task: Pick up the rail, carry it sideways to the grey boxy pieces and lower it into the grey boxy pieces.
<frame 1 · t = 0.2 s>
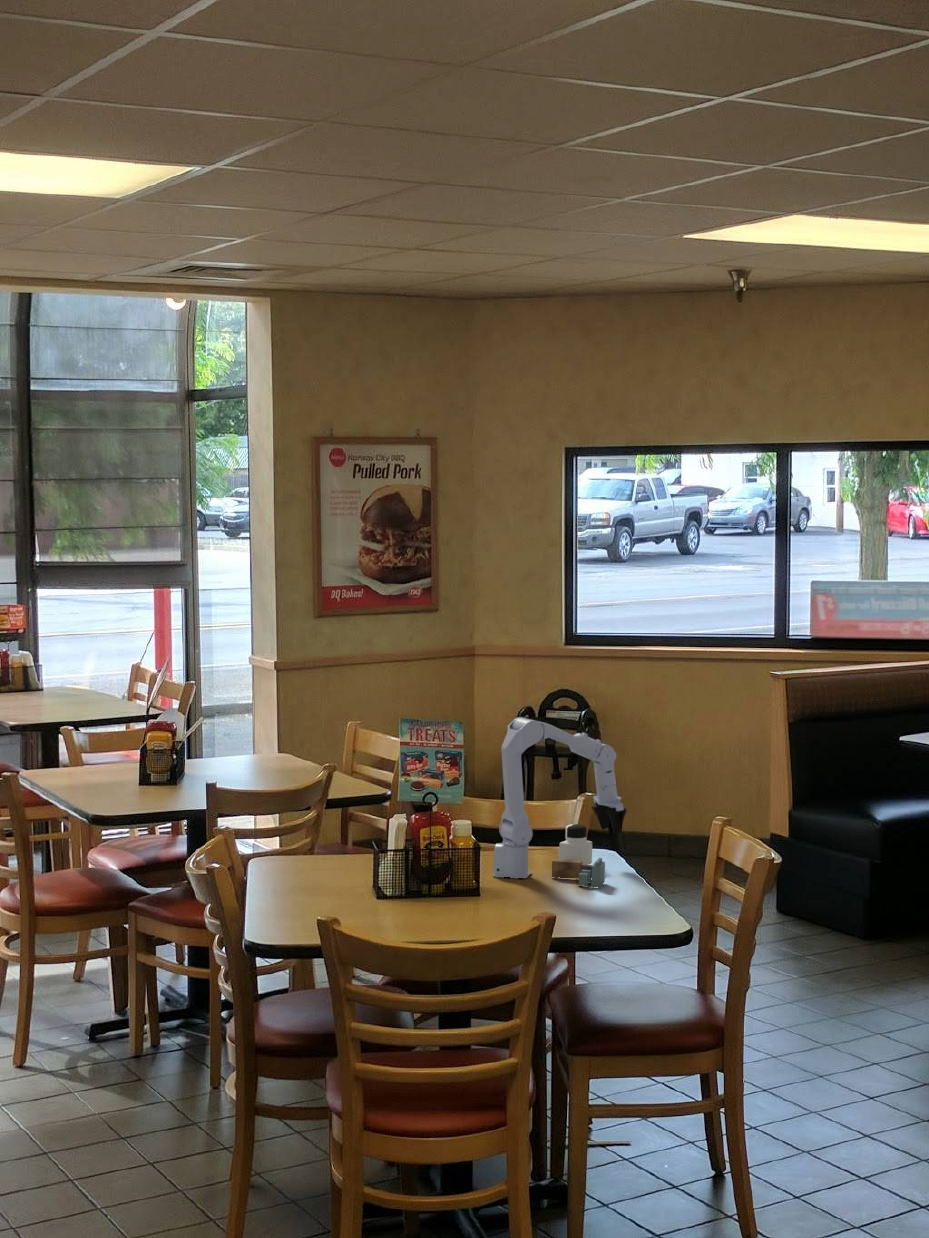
hand: (611, 830, 418), 11 cm above the table, tool pointing down, fingers open, 7 cm apart
medicine bottle: (575, 866, 420), on the table
rail: (566, 878, 404), on the table
grey boxy pieces: (584, 884, 397), on the table
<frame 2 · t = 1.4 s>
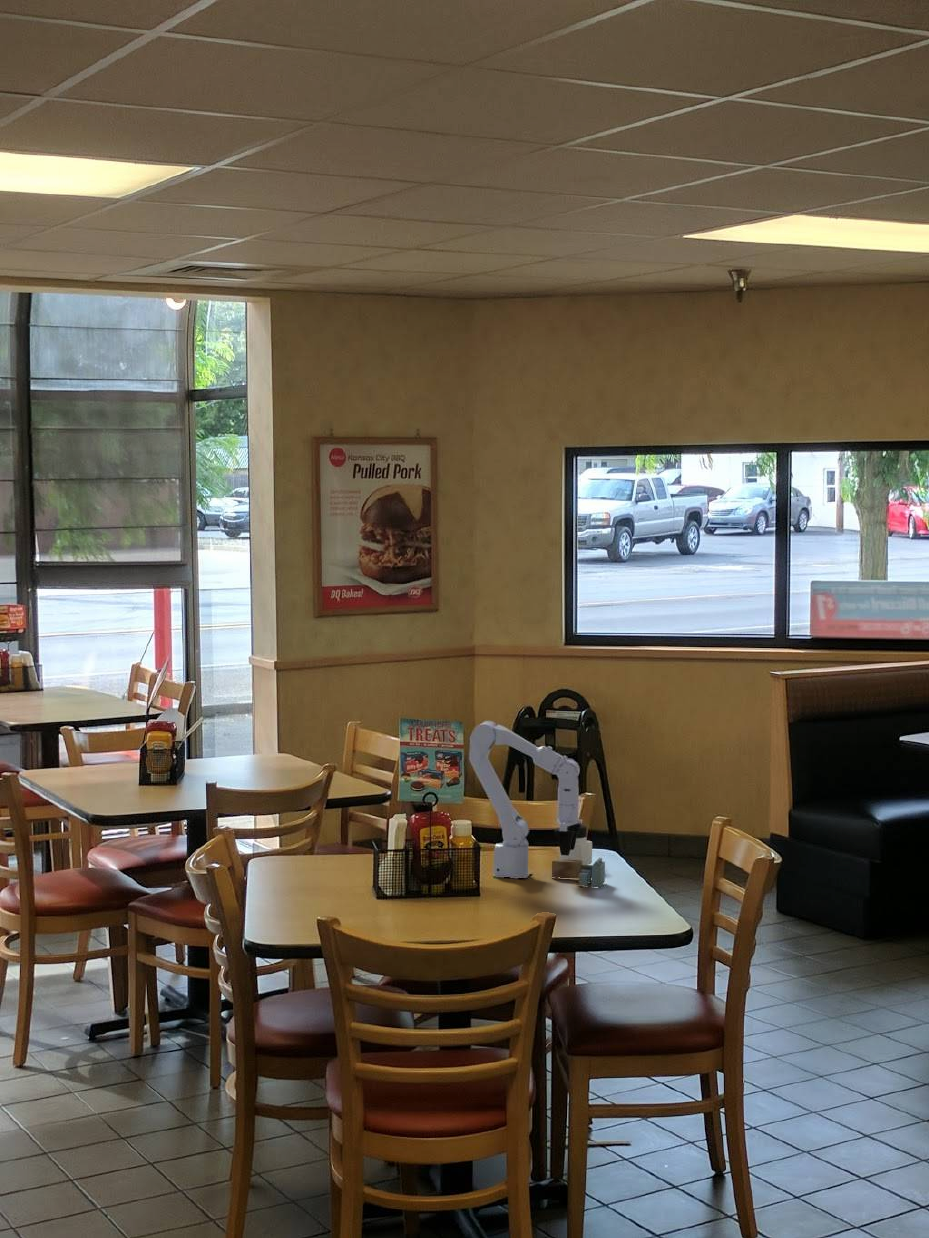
hand: (567, 852, 404), 7 cm above the table, tool pointing down, fingers open, 7 cm apart
nothing on the table moved.
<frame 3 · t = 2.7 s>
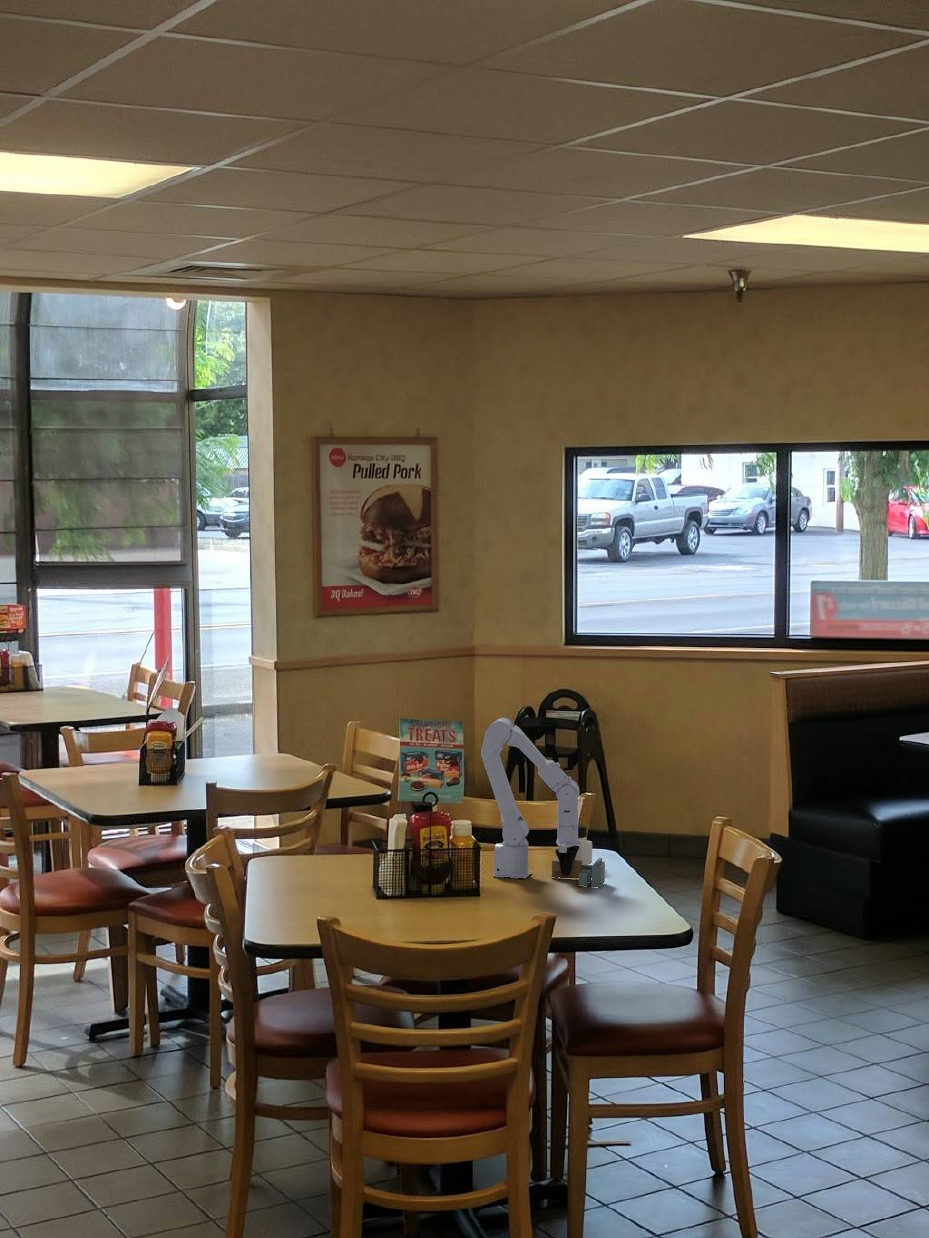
hand: (567, 873, 404), 1 cm above the table, tool pointing down, fingers closed on rail, 3 cm apart
rail: (566, 878, 404), on the table, touching gripper
everything else where it was.
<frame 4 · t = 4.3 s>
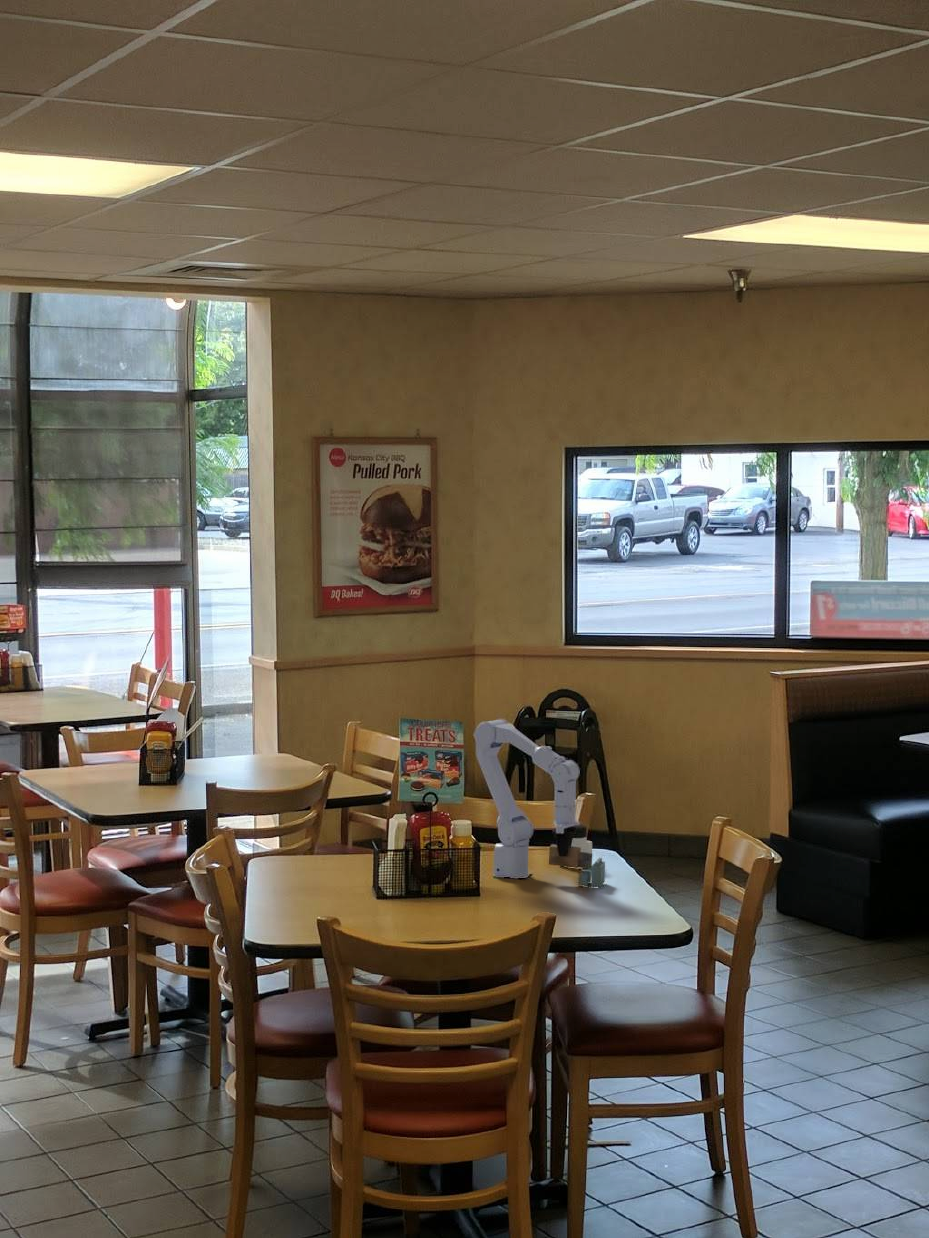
hand: (564, 854, 398), 8 cm above the table, tool pointing down, fingers closed on rail, 3 cm apart
rail: (564, 864, 398), point 5 cm above the table, touching gripper
everything else where it was.
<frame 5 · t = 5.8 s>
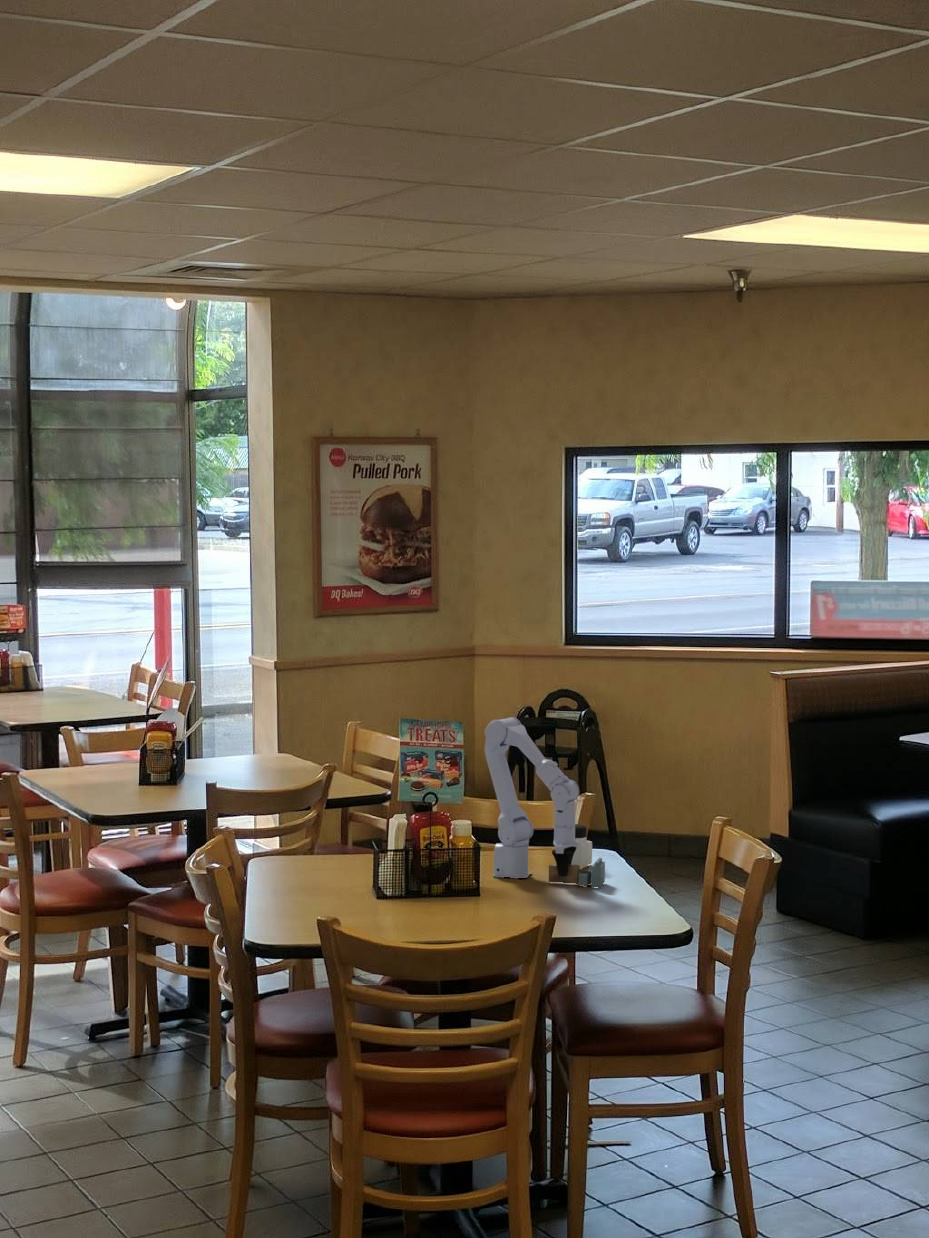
hand: (564, 874, 398), 2 cm above the table, tool pointing down, fingers closed on rail, 3 cm apart
rail: (564, 883, 398), on the table, touching gripper
everything else where it was.
when the fingers open (2 cm above the table, at t = 6.2 s): rail stays where it is, on the table.
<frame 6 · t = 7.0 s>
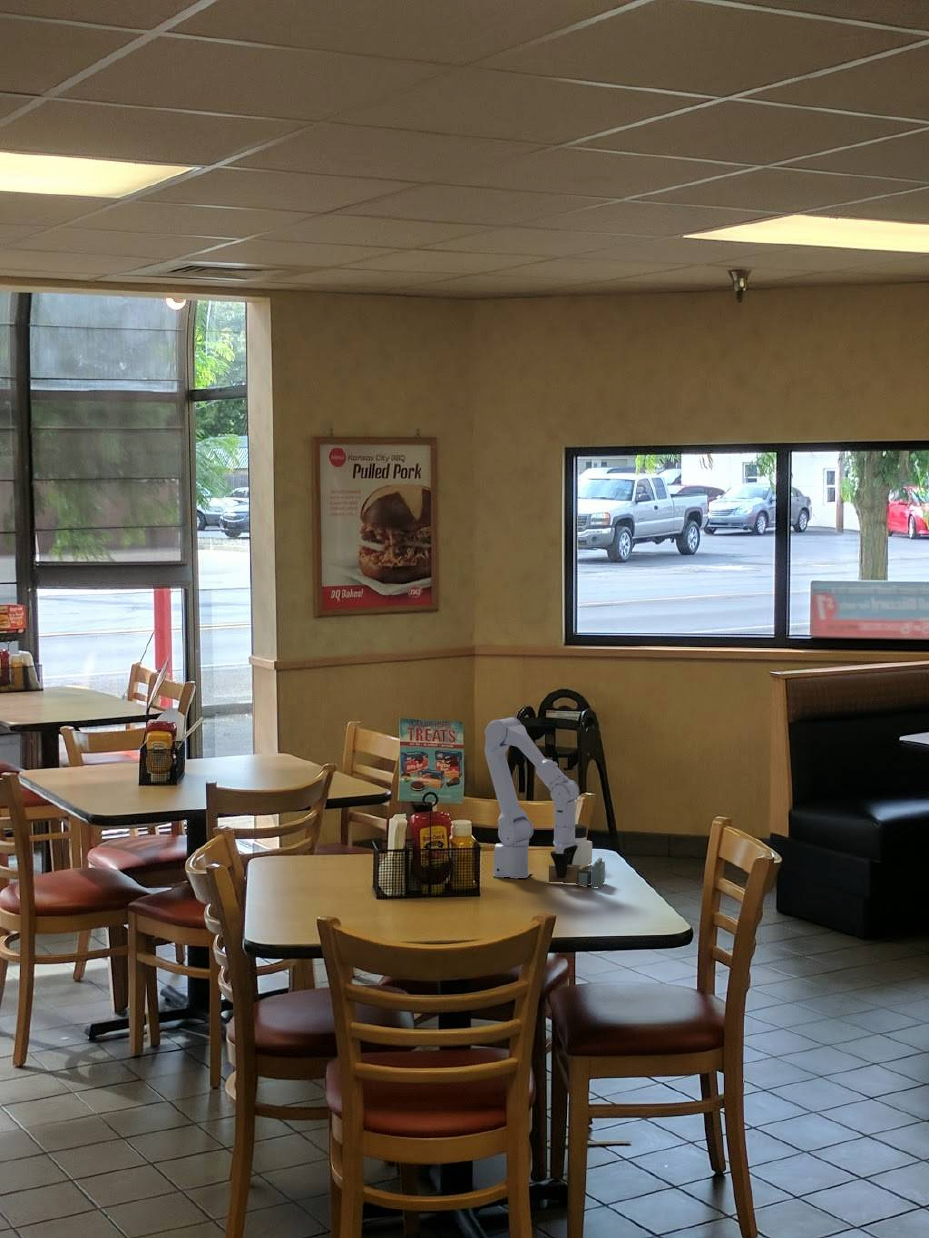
hand: (563, 874, 398), 2 cm above the table, tool pointing down, fingers open, 7 cm apart
rail: (564, 883, 398), on the table
everything else where it was.
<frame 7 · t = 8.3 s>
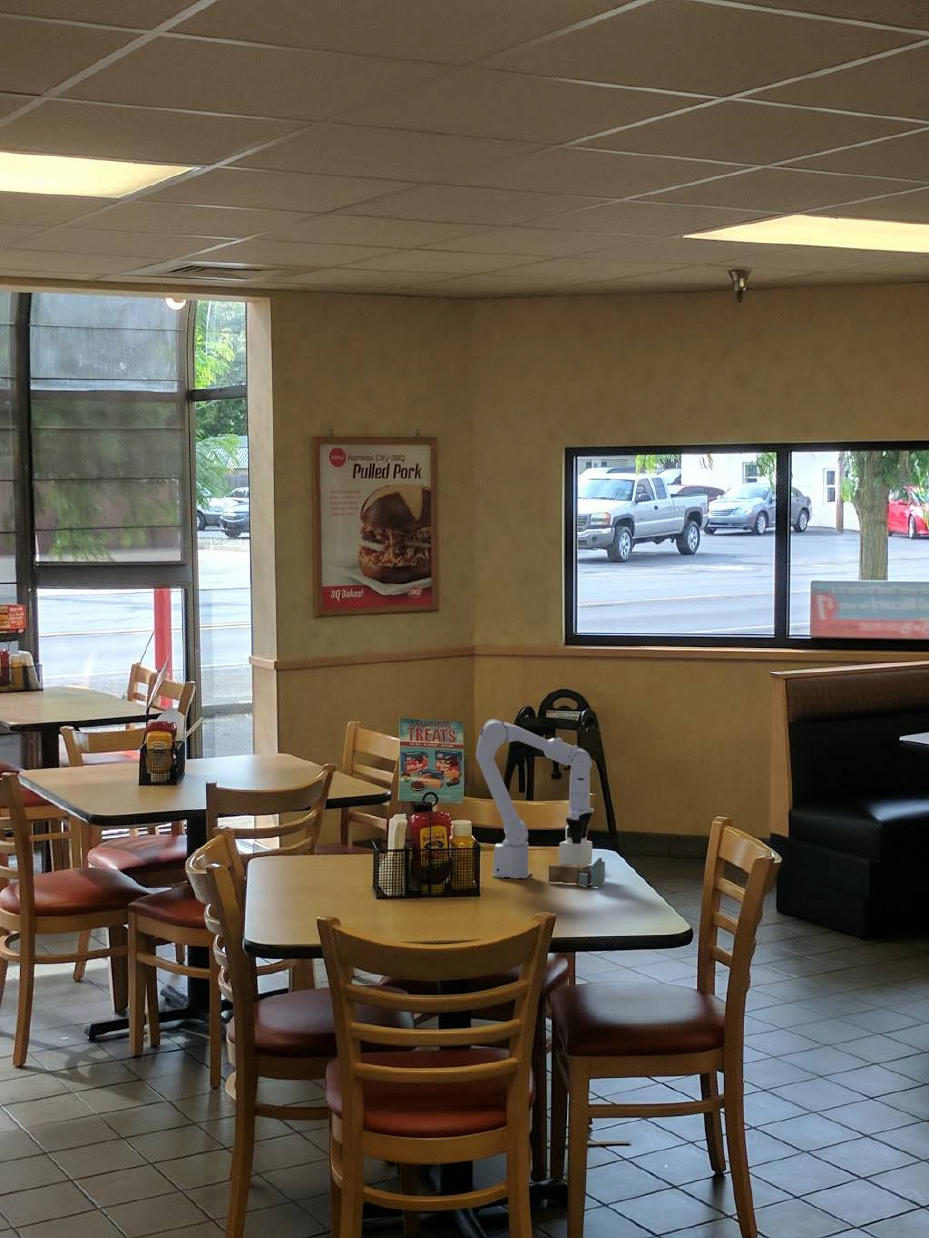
hand: (578, 840, 407), 10 cm above the table, tool pointing down, fingers open, 7 cm apart
nothing on the table moved.
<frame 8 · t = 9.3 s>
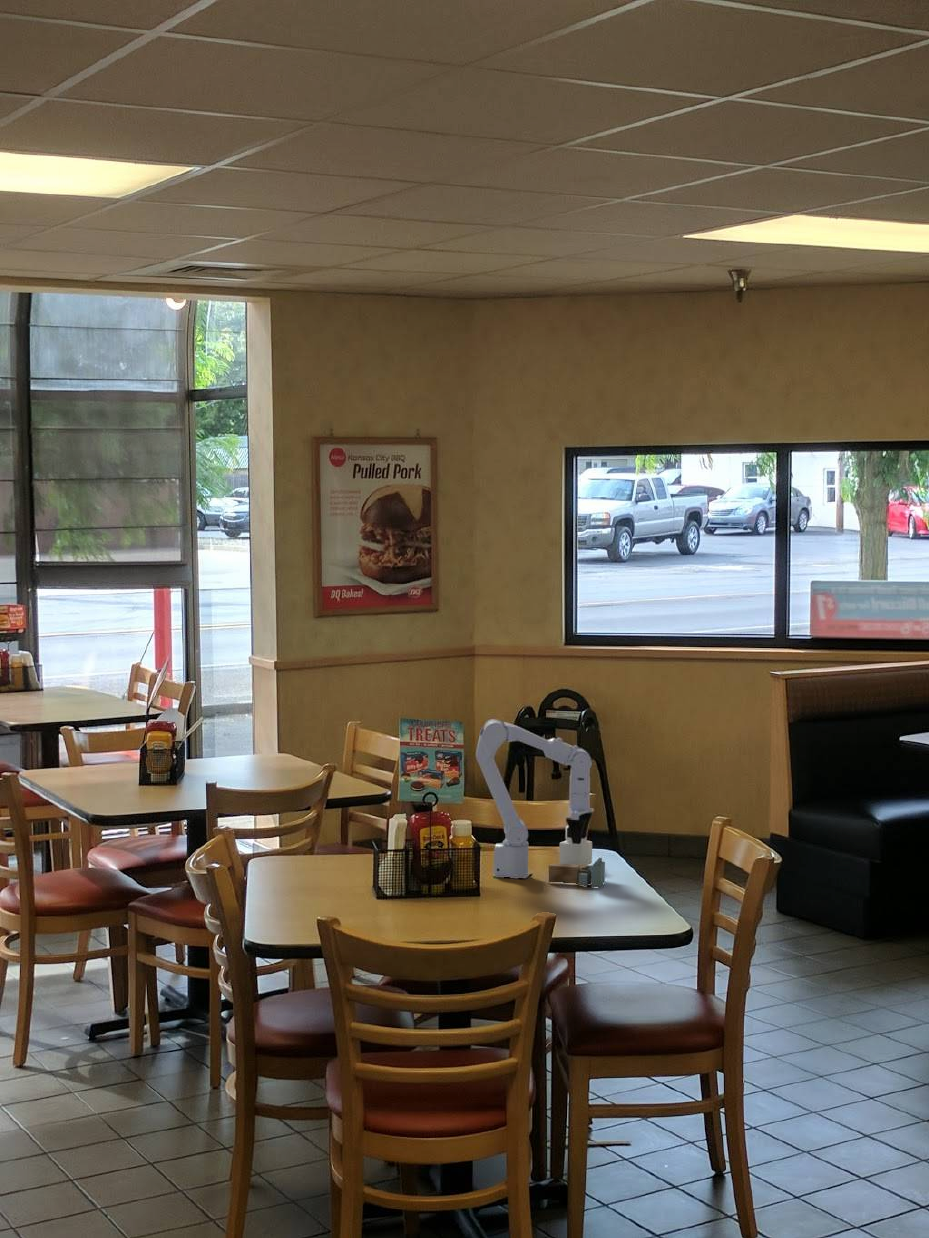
hand: (578, 840, 407), 10 cm above the table, tool pointing down, fingers open, 7 cm apart
nothing on the table moved.
at the end: rail 0.0 cm from the target spot on the grey boxy pieces, point 0.0 cm above the grey boxy pieces's base; rail tilted 0°; the gripper is holding nothing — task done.
